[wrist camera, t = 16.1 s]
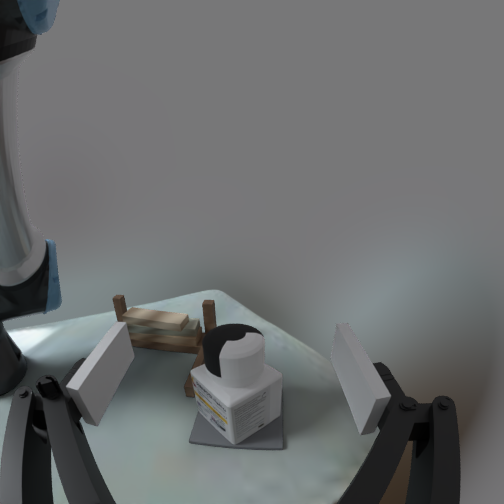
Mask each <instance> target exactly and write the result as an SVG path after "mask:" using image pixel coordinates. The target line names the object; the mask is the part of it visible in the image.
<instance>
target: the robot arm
mask: <svg viewBox="0 0 504 504" xmlns="http://www.w3.org/2000/svg"><path fill="white" fill-rule="evenodd" d="M59 1H60V0H0V395H2V394H4V393H6V392H8V391H10V390H11V389H13V388H14V387H15V386H16V385H17V384H18V383H19V382H20V381H21V380H22V378H23V377H24V375H25V372H26V369H27V364H26V361H25V358H24V356H23V354H22V352H21V350H20V349H19V348H18V346H17V345H16V344H15V342H14V341H13V340H12V338H11V337H10V336H9V334H8V333H7V332H6V330H5V328H4V326H3V323H2V322H4V321H7V320H13V319H17V318H22V317H27V316H31V315H36V314H41V313H43V314H46V313H47V312H49V311H52V310H56V309H58V308H59V307H60V306H61V303H62V299H61V291H60V284H59V276H58V268H57V267H58V266H57V256H56V244H55V242H54V241H53V240H48V239H47V240H45V239H44V236H43V234H42V233H41V231H40V230H39V229H38V228H36V227H35V226H33V225H32V224H31V221H30V216H29V212H28V207H27V203H26V197H25V191H24V187H23V186H24V185H23V179H22V172H21V164H20V155H19V145H18V126H17V92H18V91H17V90H18V75H19V68H20V66H21V64H22V63H23V62H24V61H25V60H26V59H27V57H28V56H29V55H30V54H31V53H32V52H33V51H34V49H35V44H36V38H37V34H39V35H41V34H42V33H44V32H47V31H48V30H49V29H50V28H51V27H52V25H53V23H54V20H55V17H56V12H57V7H58V5H59ZM134 357H135V355H134V352H133V348H132V344H131V340H130V336H129V332H128V328H127V324H126V322H117V321H116V322H115V323H114V325H113V326H112V327H111V328H110V329H109V331H108V332H107V333H106V334H105V336H104V337H103V338H102V340H101V341H100V342H99V343H98V345H97V346H96V347H95V348H94V350H93V351H92V352H91V354H90V355H89V356H88V357H87V359H85V358H82V359H81V360H79V361H78V362H76V363H75V365H74V366H73V367H72V369H71V370H70V371H69V373H68V374H67V375H66V376H65V378H64V379H63V380H62V382H61V383H60V384H58V382H57V380H56V378H55V377H54V376H51V375H45V376H43V377H41V378H40V379H38V381H37V382H36V387H37V389H38V391H39V392H40V394H35V393H33V391H32V389H31V388H30V387H28V386H22V387H19V388H18V389H17V390H16V391H15V393H14V396H13V400H12V404H11V408H10V412H9V416H8V421H7V426H6V431H5V437H4V443H3V450H2V458H1V468H0V504H54V503H53V493H52V477H51V448H52V452H53V456H54V460H55V463H56V467H57V470H58V473H59V477H60V480H61V483H62V486H63V488H64V491H65V494H66V497H67V499H68V502H69V504H116V503H115V501H114V499H113V497H112V495H111V493H110V492H109V490H108V488H107V486H106V484H105V482H104V479H103V477H102V475H101V473H100V471H99V469H98V466H97V464H96V462H95V459H94V457H93V454H92V452H91V449H90V447H89V444H88V442H87V439H86V436H85V433H84V430H83V427H82V424H81V423H80V421H79V420H80V418H81V417H83V419H84V421H85V422H86V423H88V424H91V425H94V426H98V425H99V423H100V421H101V419H102V417H103V415H104V413H105V411H106V409H107V407H108V405H109V403H110V401H111V399H112V397H113V396H114V394H115V392H116V390H117V388H118V386H119V384H120V382H121V381H122V379H123V377H124V375H125V373H126V372H127V370H128V368H129V366H130V364H131V363H132V361H133V359H134ZM330 359H331V362H332V364H333V367H334V369H335V372H336V374H337V377H338V379H339V382H340V384H341V387H342V389H343V392H344V394H345V397H346V399H347V402H348V404H349V407H350V410H351V412H352V415H353V417H354V420H355V423H356V425H357V428H358V431H359V433H360V435H364V434H369V433H373V432H375V430H376V428H377V426H378V427H379V429H380V432H379V434H378V436H377V438H376V440H375V442H374V444H373V446H372V448H371V450H370V451H369V453H368V455H367V457H366V459H365V460H364V462H363V464H362V466H361V467H360V469H359V471H358V472H357V474H356V475H355V477H354V479H353V480H352V482H351V483H350V485H349V486H348V488H347V489H346V491H345V492H344V494H343V495H342V497H341V498H340V500H339V501H338V502H337V504H379V502H380V500H381V498H382V497H383V494H384V493H385V491H386V489H387V487H388V485H389V483H390V481H391V479H392V477H393V474H394V473H395V470H396V468H397V466H398V464H399V461H400V459H401V457H402V454H403V452H404V450H405V447H406V444H407V442H408V441H413V450H412V462H411V470H410V478H409V485H408V491H407V497H406V503H405V504H459V501H460V447H459V434H458V424H457V416H456V408H455V404H454V401H453V400H452V399H451V398H449V397H447V396H438V397H436V398H435V399H434V400H433V402H432V403H429V404H427V403H426V404H420V403H418V402H417V401H416V400H415V399H413V398H411V397H406V396H405V394H404V393H403V391H402V390H401V388H400V386H399V385H398V383H397V381H396V380H395V379H394V377H393V375H392V374H391V372H390V370H389V369H388V368H387V366H385V365H384V364H382V363H381V362H379V363H373V364H372V362H371V360H370V359H369V357H368V355H367V353H366V352H365V350H364V348H363V347H362V345H361V344H360V342H359V340H358V339H357V337H356V335H355V334H354V332H353V330H352V329H351V327H350V326H349V324H348V323H341V324H336V330H335V335H334V342H333V347H332V353H331V358H330Z"/></svg>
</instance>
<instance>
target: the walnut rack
mask: <svg viewBox="0 0 504 504" xmlns="http://www.w3.org/2000/svg"><path fill="white" fill-rule="evenodd" d="M113 302H114V308H115V312H116V316H117V320H118V322H123V319H122V315H123V314H124V313H125V312H127V308H126V303H125V298H124V295H116V296H115V297H114V298H113ZM202 307H203V316H204V325H205V333H202V335H201V337H200V339H199V342H198V344H197V346H189V345H178V344H169V343H160V342H151V341H144V340H136V339H130V340H131V344H132V346H135V347H142V348H149V349H156V350H164V351H173V352H182V353H193V354H198V355H197V357H196V360H195V362H194V365H193V367H192V369H194V368H196V367H198V366H201V365H203V364H205V362H204V355H203V347H202V340H203V338H204V336H205V335H206V334H207V333H208V332H209V331H210V330H211V329H213V328H215V327H217V326H216V315H215V303H214V300H204V302H203V304H202ZM192 369H191V370H192ZM184 389H185V393H186V396H188V397H195V392H194V387H193V383H192V378H191V372H190V374H189V376H188V379H187V381H186V383H185V386H184Z"/></svg>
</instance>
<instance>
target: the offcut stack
mask: <svg viewBox="0 0 504 504" xmlns="http://www.w3.org/2000/svg"><path fill="white" fill-rule="evenodd" d="M122 319H123V322H126V324H127V328H128V332H129V336H130V339H136V340H144V341H151V342H160V343H169V344H178V345H189V346H197V344H198V342H199V339H200V337H201V335H202V327H200V321H199V318H189V317H188V314H182V313H173V312H164V311H156V310H148V309H141V308H134V307H131V308H130V309H129V310H128V311H127V312H125V313H124V314H123V315H122Z"/></svg>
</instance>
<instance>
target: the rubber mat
mask: <svg viewBox="0 0 504 504" xmlns="http://www.w3.org/2000/svg"><path fill="white" fill-rule="evenodd" d="M189 443H193V444H200V445H207V446H215V447H225V448H237V449H254V450H282V449H283V405H282V396H281V411H280V416H279V417H277V418H276V419H274V420H273V421H272V422H270V423H269V424H267V425H266V426H264V427H263V428H261V429H260V430H258V431H257V432H255V433H254V434H252V435H250V436H249V437H247V438H246V439H244V440H243V441H241V442H239V443H238V444H235V445H234V444H232V443H231V442H230V441H229V440H228V439H227V438H225V437H224V436H223V435H222V434H221V433H220V432H219V431H218V430H217V429H216V428H215V427H214V426H213V425H212V424H211V423H210V422H209V421H208V420H207V419H206V418H205V417H204V416H203V415H202V414H201V413H200V412H199V411H198V414H197V417H196V420H195V423H194V426H193V429H192V432H191V436H190V439H189Z"/></svg>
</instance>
